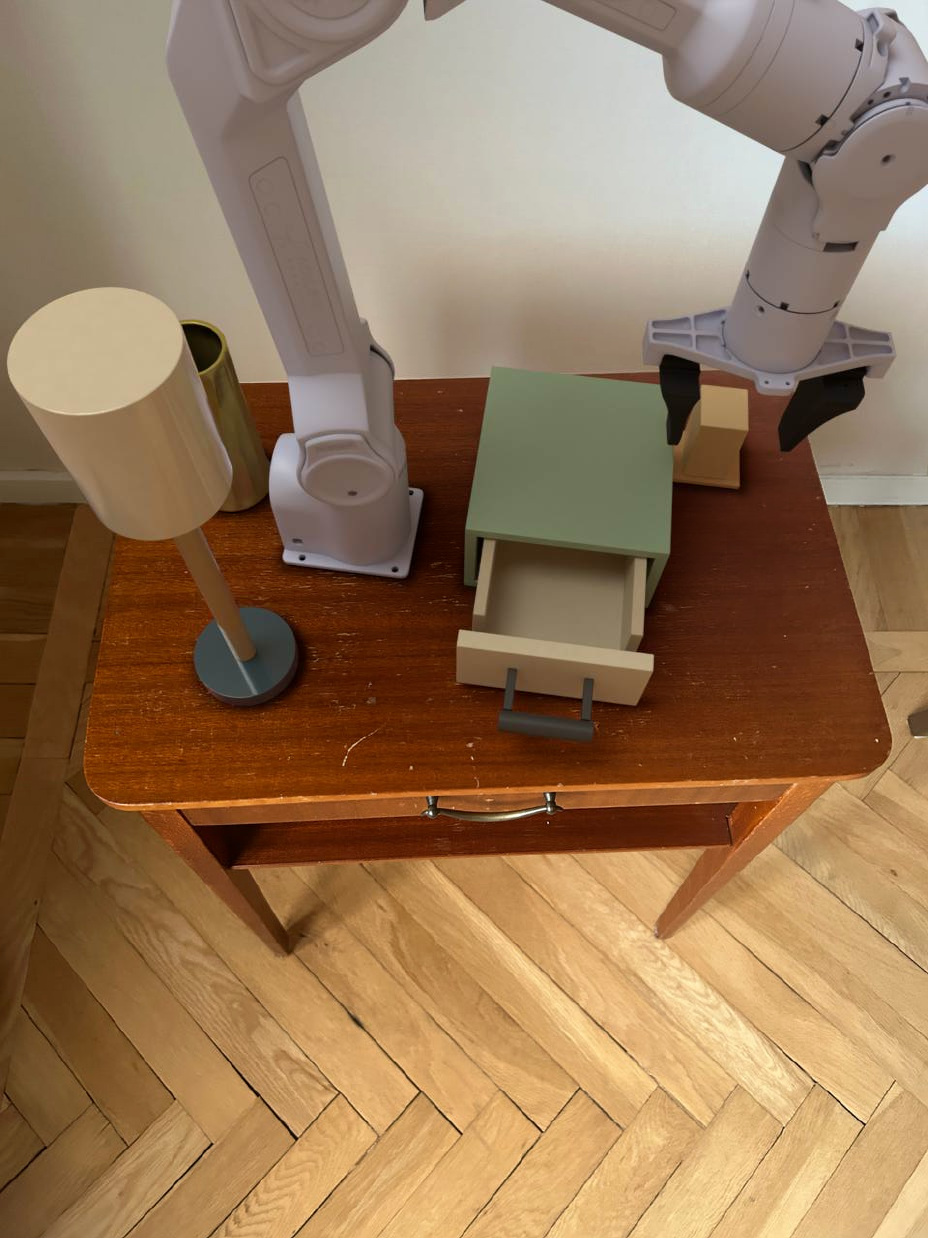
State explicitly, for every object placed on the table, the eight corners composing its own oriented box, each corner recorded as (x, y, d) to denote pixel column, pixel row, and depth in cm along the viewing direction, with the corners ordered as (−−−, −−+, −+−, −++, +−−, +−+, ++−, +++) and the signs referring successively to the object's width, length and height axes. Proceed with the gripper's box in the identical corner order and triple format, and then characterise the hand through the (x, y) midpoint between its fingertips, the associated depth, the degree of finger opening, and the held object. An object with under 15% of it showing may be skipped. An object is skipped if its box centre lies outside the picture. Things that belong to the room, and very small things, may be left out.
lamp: (187, 699, 61) (-22, 403, 34) (214, 610, 64) (43, 277, 37) (286, 712, 60) (153, 424, 34) (308, 623, 63) (204, 295, 37)
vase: (260, 519, 67) (215, 390, 55) (184, 505, 68) (122, 375, 55) (283, 457, 70) (246, 321, 58) (210, 444, 71) (157, 307, 58)
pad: (662, 480, 70) (663, 477, 69) (664, 431, 72) (665, 428, 72) (738, 489, 69) (739, 486, 69) (737, 439, 72) (739, 436, 71)
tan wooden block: (681, 474, 69) (700, 424, 64) (683, 435, 71) (701, 383, 66) (726, 480, 69) (749, 430, 64) (726, 440, 71) (748, 388, 66)
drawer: (633, 766, 58) (650, 736, 53) (447, 741, 58) (446, 708, 53) (644, 540, 66) (660, 495, 61) (481, 520, 67) (483, 474, 61)
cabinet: (647, 608, 64) (670, 553, 57) (463, 585, 65) (465, 528, 58) (654, 451, 71) (676, 386, 64) (488, 432, 72) (492, 365, 65)
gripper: (667, 322, 46) (623, 477, 58) (944, 337, 46) (842, 491, 58) (662, 231, 50) (621, 396, 62) (920, 245, 49) (828, 408, 61)
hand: (727, 437), depth 60 cm, fingers open, 7 cm apart
